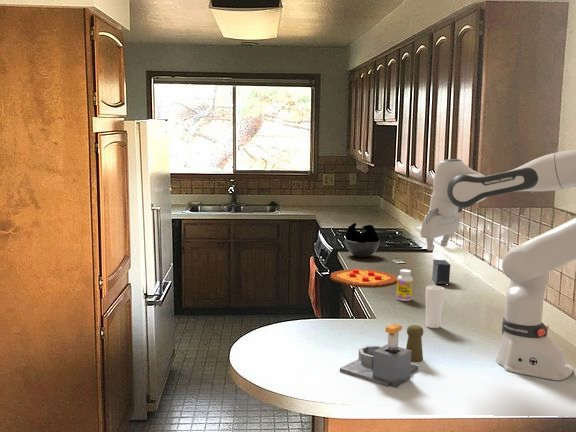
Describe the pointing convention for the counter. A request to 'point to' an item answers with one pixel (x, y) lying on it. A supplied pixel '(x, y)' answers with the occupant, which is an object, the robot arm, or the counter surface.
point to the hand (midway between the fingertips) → (437, 248)
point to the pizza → (363, 278)
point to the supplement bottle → (404, 285)
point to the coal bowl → (361, 241)
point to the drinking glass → (434, 305)
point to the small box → (441, 272)
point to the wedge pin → (393, 337)
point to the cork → (415, 342)
